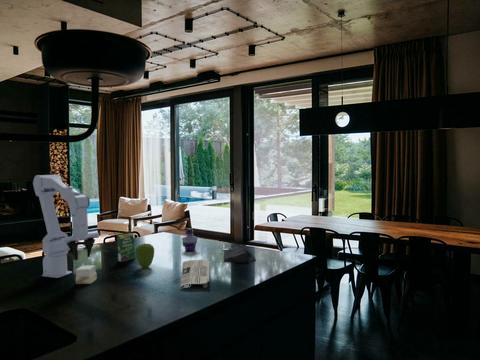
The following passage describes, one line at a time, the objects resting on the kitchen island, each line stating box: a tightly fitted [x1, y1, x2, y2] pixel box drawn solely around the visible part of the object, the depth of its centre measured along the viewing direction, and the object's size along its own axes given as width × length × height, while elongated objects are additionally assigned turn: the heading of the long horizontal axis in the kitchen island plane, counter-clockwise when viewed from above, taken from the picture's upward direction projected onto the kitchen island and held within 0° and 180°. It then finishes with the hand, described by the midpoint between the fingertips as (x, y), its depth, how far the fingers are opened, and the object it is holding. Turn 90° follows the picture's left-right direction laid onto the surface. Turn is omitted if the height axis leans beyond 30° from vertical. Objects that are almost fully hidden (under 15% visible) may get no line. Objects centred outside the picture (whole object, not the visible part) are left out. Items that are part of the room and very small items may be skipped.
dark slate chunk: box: [223, 245, 256, 264], centre depth 182 cm, size 15×22×5 cm
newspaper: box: [179, 259, 211, 290], centre depth 153 cm, size 35×12×4 cm, turn 7°
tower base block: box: [75, 272, 98, 285], centre depth 149 cm, size 6×6×3 cm
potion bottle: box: [181, 227, 198, 253], centre depth 196 cm, size 9×9×12 cm
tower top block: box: [75, 264, 96, 278], centre depth 149 cm, size 6×6×3 cm
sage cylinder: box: [75, 247, 89, 264], centre depth 148 cm, size 4×4×5 cm
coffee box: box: [116, 232, 136, 263], centre depth 180 cm, size 8×3×13 cm, turn 137°
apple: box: [135, 243, 155, 269], centre depth 166 cm, size 9×8×12 cm
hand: (81, 258), depth 148 cm, fingers closed on sage cylinder, 4 cm apart
